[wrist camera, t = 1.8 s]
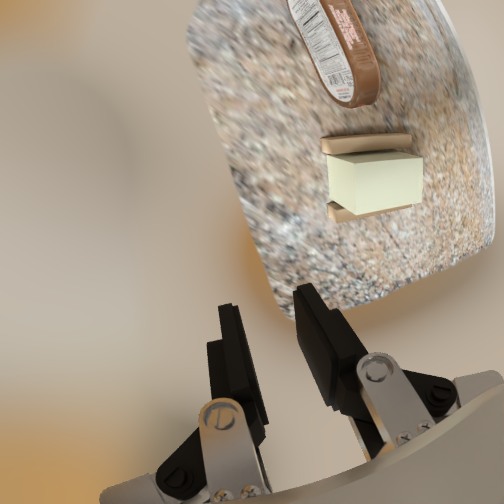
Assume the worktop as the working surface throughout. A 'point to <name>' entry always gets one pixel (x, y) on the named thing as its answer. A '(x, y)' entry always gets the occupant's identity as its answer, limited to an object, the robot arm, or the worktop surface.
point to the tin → (338, 50)
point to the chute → (356, 145)
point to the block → (375, 180)
